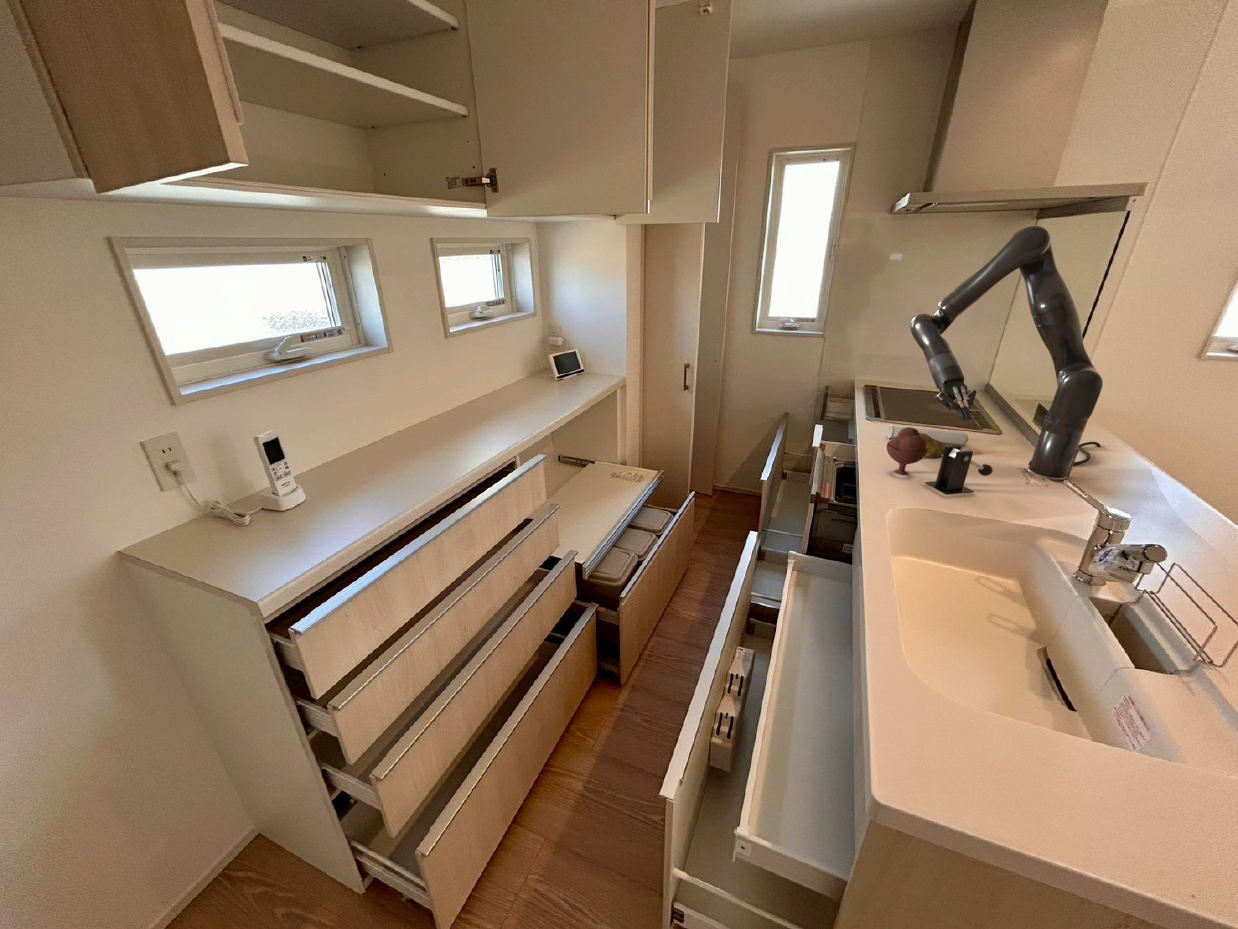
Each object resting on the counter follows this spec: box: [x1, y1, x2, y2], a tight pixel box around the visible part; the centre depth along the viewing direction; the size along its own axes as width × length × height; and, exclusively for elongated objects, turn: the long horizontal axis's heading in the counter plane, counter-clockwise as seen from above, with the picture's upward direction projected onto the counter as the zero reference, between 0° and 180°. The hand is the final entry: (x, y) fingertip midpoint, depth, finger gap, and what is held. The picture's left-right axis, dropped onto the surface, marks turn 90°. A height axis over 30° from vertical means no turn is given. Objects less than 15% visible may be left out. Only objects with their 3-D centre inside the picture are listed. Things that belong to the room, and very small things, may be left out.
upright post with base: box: [924, 445, 974, 496], centre depth 140 cm, size 9×8×13 cm
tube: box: [887, 424, 969, 447], centre depth 179 cm, size 5×5×25 cm
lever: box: [949, 448, 994, 477], centre depth 140 cm, size 15×3×3 cm, turn 100°
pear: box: [919, 432, 947, 459], centre depth 166 cm, size 8×13×8 cm, turn 72°
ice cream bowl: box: [886, 426, 928, 476], centre depth 150 cm, size 11×11×15 cm
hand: (966, 420), depth 148 cm, fingers closed
